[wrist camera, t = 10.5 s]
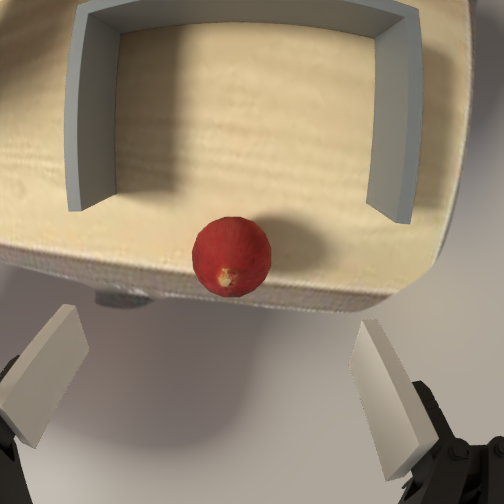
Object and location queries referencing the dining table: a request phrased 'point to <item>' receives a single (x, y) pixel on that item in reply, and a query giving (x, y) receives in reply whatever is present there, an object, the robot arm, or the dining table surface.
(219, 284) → the onion
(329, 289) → the dining table surface
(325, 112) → the dining table surface
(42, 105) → the dining table surface
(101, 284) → the dining table surface
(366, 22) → the open u-shaped frame
